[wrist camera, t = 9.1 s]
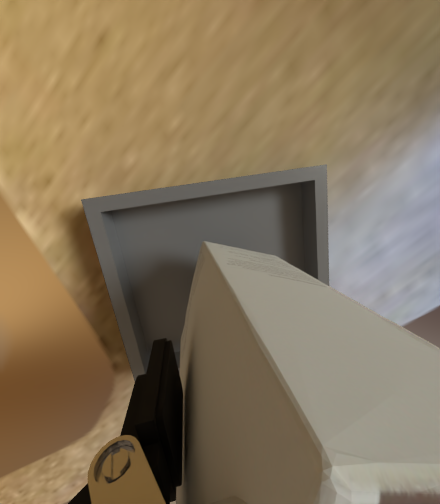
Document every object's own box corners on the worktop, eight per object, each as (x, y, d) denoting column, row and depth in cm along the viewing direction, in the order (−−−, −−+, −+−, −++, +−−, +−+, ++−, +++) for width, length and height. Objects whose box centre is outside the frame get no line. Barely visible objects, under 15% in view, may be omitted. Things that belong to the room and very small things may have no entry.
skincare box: (248, 346, 19) (463, 819, 5) (175, 338, 17) (153, 966, 3) (277, 248, 17) (755, 512, 3) (198, 232, 16) (360, 562, 2)
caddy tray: (97, 198, 18) (81, 199, 16) (306, 168, 20) (326, 164, 17) (142, 363, 23) (136, 387, 20) (313, 325, 24) (330, 343, 22)
